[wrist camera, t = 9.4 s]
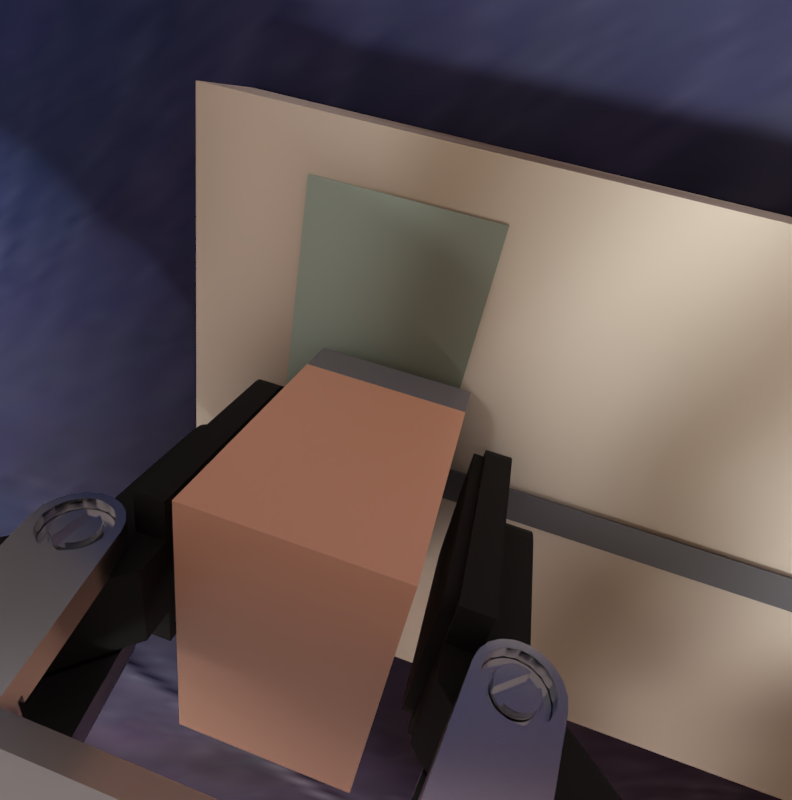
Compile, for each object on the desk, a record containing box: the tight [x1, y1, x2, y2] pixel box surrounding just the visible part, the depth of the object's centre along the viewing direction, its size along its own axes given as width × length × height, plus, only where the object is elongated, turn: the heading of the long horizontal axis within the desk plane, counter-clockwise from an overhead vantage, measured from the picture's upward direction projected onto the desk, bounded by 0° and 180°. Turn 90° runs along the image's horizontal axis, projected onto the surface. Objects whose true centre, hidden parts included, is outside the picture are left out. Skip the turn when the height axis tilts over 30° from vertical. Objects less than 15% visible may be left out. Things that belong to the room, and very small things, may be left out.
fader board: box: [196, 80, 792, 800], centre depth 12 cm, size 22×13×2 cm, turn 79°
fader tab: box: [172, 348, 471, 793], centre depth 9 cm, size 3×5×5 cm, turn 169°
